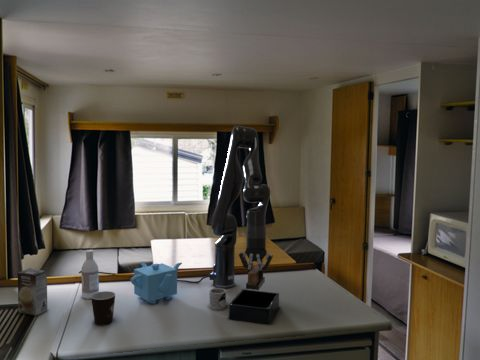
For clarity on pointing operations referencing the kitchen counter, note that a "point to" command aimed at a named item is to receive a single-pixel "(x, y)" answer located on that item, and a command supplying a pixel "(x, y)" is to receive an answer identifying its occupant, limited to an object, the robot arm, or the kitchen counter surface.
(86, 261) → the bath foam
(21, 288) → the coffee box
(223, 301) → the mug
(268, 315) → the black open box
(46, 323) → the kitchen counter surface
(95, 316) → the coffee mug
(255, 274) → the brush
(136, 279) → the teakettle
